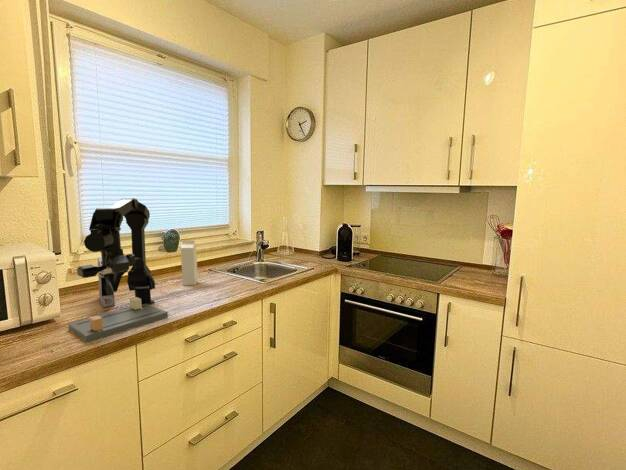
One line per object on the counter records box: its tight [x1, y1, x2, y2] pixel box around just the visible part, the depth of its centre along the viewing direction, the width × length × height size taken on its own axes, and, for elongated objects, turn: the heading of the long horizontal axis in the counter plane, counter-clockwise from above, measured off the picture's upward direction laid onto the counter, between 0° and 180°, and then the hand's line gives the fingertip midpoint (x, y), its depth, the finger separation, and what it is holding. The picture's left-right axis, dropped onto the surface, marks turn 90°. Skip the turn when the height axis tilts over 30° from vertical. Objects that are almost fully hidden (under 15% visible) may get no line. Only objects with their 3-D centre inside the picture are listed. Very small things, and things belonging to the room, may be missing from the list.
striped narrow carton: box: [97, 256, 116, 308], centre depth 139 cm, size 19×5×18 cm, turn 35°
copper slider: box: [88, 315, 103, 331], centre depth 106 cm, size 4×2×4 cm, turn 52°
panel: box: [67, 303, 169, 343], centre depth 116 cm, size 16×26×2 cm, turn 142°
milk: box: [180, 240, 199, 286], centre depth 166 cm, size 6×6×22 cm
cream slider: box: [129, 296, 142, 310], centre depth 125 cm, size 4×2×4 cm, turn 52°
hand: (115, 291), depth 112 cm, fingers closed
